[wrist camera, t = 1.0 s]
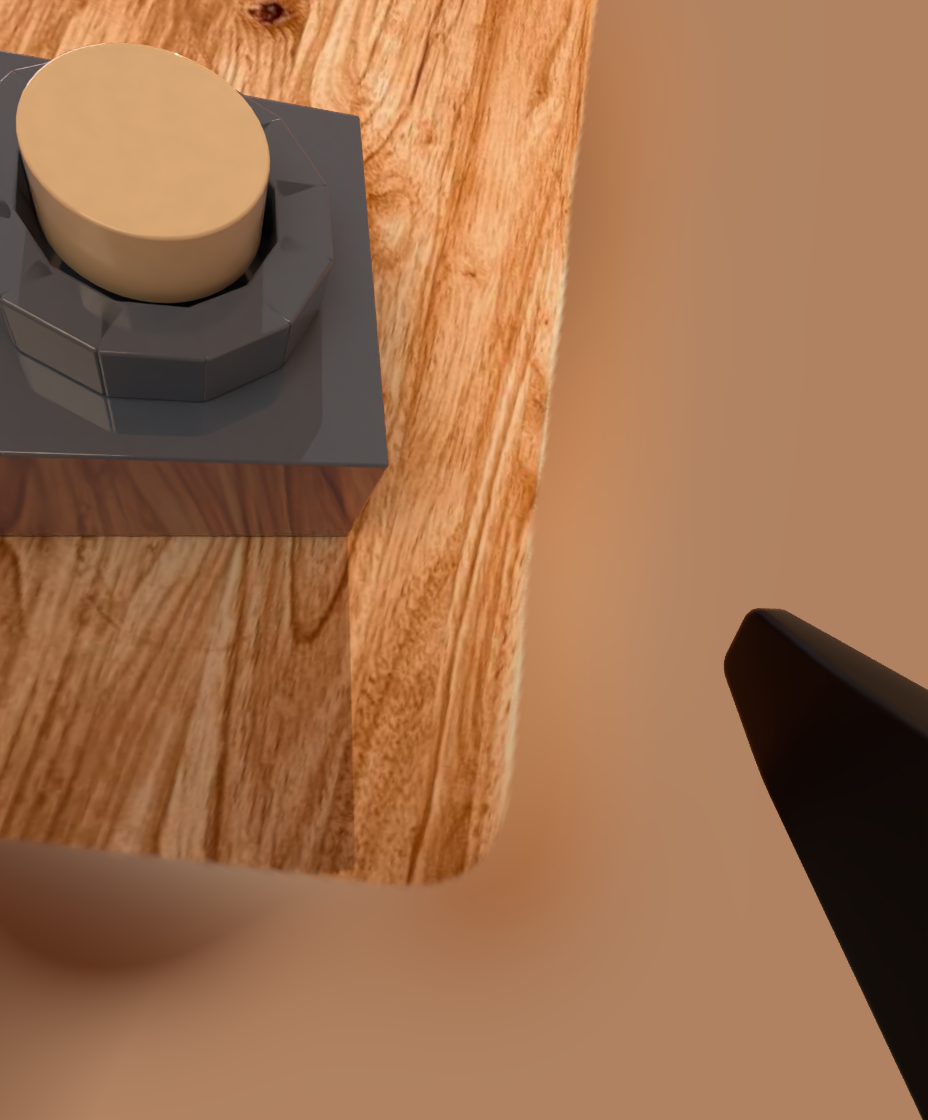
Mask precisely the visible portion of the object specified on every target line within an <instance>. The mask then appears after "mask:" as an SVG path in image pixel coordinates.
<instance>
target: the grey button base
mask: <svg viewBox="0 0 928 1120" xmlns="http://www.w3.org/2000/svg"><path fill="white" fill-rule="evenodd" d="M49 61H51V60H50V59H44V58H39V57H33V56H28V55H22V54H17V53H12V52H6V51H1V50H0V536H347V535H348V534H349V532H350V531H351V529H352V527H353V526H354V524H355V522H356V520H357V519H358V517H359V515H360V514H361V512H362V510H363V509H364V507H365V505H366V503H367V502H368V500H369V498H370V497H371V495H372V493H373V492H374V490H375V488H376V486H377V485H378V483H379V481H380V480H381V478H382V476H383V475H384V473H385V471H386V470H387V468H388V465H389V463H388V451H387V439H386V427H385V415H384V403H383V391H382V379H381V367H380V355H379V343H378V331H377V319H376V307H375V295H374V283H373V271H372V259H371V247H370V235H369V223H368V211H367V199H366V187H365V175H364V163H363V151H362V139H361V128H360V119H359V117H358V116H356V115H350V114H345V113H339V112H334V111H328V110H323V109H318V108H312V107H307V106H301V105H296V104H290V103H285V102H279V101H274V100H268V99H263V98H257V97H252V96H247V95H244V94H242V93H240V92H239V91H237V90H236V91H237V92H238V93H239V94H240V95H241V96H242V97H243V98H244V99H245V101H246V102H247V103H248V104H249V106H250V107H251V108H252V110H253V111H254V113H255V115H256V116H257V118H258V120H259V121H260V124H261V126H262V128H263V131H264V133H265V135H266V139H267V142H268V146H269V153H270V174H269V182H268V190H267V198H266V206H265V214H264V222H263V229H262V237H261V241H260V246H259V249H258V251H257V254H256V257H255V258H254V260H253V262H252V263H251V265H250V267H249V268H248V269H247V270H246V271H245V272H244V274H243V275H242V276H241V277H240V278H238V279H237V280H236V281H235V282H234V283H233V284H231V285H230V286H228V287H226V288H225V289H223V290H222V291H220V292H217V293H215V294H213V295H211V296H208V297H205V298H202V299H198V300H194V301H189V302H183V303H151V302H144V301H138V300H134V299H130V298H126V297H122V296H120V295H117V294H114V293H111V292H109V291H107V290H105V289H103V288H101V287H99V286H96V285H94V284H93V283H91V282H90V281H88V280H87V279H85V278H83V277H82V276H80V275H79V274H78V273H77V272H75V271H74V270H73V269H72V268H70V267H69V266H68V265H67V264H66V263H65V262H64V261H63V260H62V259H61V258H60V257H59V256H58V255H57V253H56V252H55V251H54V249H53V248H52V247H51V245H50V244H49V242H48V241H47V239H46V237H45V235H44V233H43V232H42V229H41V226H40V224H39V221H38V218H37V214H36V210H35V207H34V203H33V199H32V195H31V191H30V187H29V183H28V180H27V176H26V172H25V168H24V164H23V160H22V156H21V153H20V149H19V145H18V140H17V135H16V112H17V106H18V103H19V100H20V98H21V95H22V92H23V90H24V89H25V87H26V85H27V83H28V82H29V80H30V79H31V78H32V77H33V76H34V74H35V73H36V72H37V71H38V70H39V69H41V68H42V67H43V66H44V65H45V64H47V63H48V62H49Z"/></svg>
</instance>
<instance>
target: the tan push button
mask: <svg viewBox="0 0 928 1120" xmlns="http://www.w3.org/2000/svg"><path fill="white" fill-rule="evenodd" d="M16 135H17V140H18V145H19V149H20V153H21V156H22V160H23V164H24V168H25V172H26V176H27V180H28V183H29V187H30V191H31V195H32V199H33V203H34V207H35V210H36V214H37V218H38V221H39V224H40V226H41V229H42V232H43V233H44V235H45V237H46V239H47V241H48V242H49V244H50V245H51V247H52V248H53V249H54V251H55V252H56V253H57V255H58V256H59V257H60V258H61V259H62V260H63V261H64V262H65V263H66V264H67V265H68V266H69V267H70V268H72V269H73V270H74V271H75V272H77V273H78V274H79V275H80V276H82V277H83V278H85V279H87V280H88V281H90V282H91V283H93V284H94V285H96V286H99V287H101V288H103V289H105V290H107V291H109V292H111V293H114V294H117V295H120V296H122V297H126V298H130V299H134V300H138V301H144V302H151V303H183V302H189V301H194V300H198V299H202V298H205V297H208V296H211V295H213V294H215V293H217V292H220V291H222V290H223V289H225V288H226V287H228V286H230V285H231V284H233V283H234V282H235V281H236V280H237V279H238V278H240V277H241V276H242V275H243V274H244V272H245V271H246V270H247V269H248V268H249V267H250V265H251V263H252V262H253V260H254V258H255V257H256V254H257V251H258V249H259V246H260V241H261V237H262V229H263V222H264V214H265V206H266V198H267V190H268V182H269V174H270V153H269V146H268V142H267V139H266V135H265V133H264V131H263V128H262V126H261V124H260V121H259V120H258V118H257V116H256V115H255V113H254V111H253V110H252V108H251V107H250V106H249V104H248V103H247V102H246V101H245V99H244V98H243V97H242V96H241V95H240V94H239V93H238V92H237V91H236V90H235V89H234V88H233V87H232V86H231V85H230V84H229V83H227V82H226V81H225V80H224V79H223V78H221V77H220V76H218V75H217V74H215V73H214V72H213V71H211V70H210V69H208V68H206V67H204V66H203V65H201V64H199V63H197V62H195V61H193V60H191V59H189V58H187V57H184V56H182V55H180V54H177V53H174V52H171V51H168V50H165V49H161V48H156V47H152V46H147V45H141V44H134V43H102V44H95V45H89V46H85V47H81V48H77V49H74V50H71V51H69V52H66V53H64V54H62V55H59V56H58V57H56V58H54V59H53V60H51V61H49V62H48V63H47V64H45V65H44V66H43V67H42V68H41V69H39V70H38V71H37V72H36V73H35V74H34V76H33V77H32V78H31V79H30V80H29V82H28V83H27V85H26V87H25V89H24V90H23V92H22V95H21V98H20V100H19V103H18V106H17V112H16Z"/></svg>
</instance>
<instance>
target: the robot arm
mask: <svg viewBox="0 0 928 1120" xmlns="http://www.w3.org/2000/svg"><path fill="white" fill-rule="evenodd" d="M724 673H725V677H726V679H727V683H728V685H729V688H730V691H731V694H732V696H733V699H734V702H735V705H736V708H737V711H738V713H739V716H740V719H741V722H742V724H743V727H744V730H745V733H746V736H747V739H748V741H749V744H750V747H751V750H752V753H753V755H754V758H755V761H756V764H757V766H758V769H759V771H760V774H761V776H762V779H763V781H764V783H765V786H766V788H767V790H768V793H769V795H770V797H771V799H772V801H773V803H774V806H775V808H776V810H777V812H778V814H779V816H780V818H781V820H782V822H783V825H784V827H785V829H786V831H787V833H788V835H789V837H790V839H791V842H792V844H793V846H794V848H795V850H796V852H797V854H798V856H799V859H800V860H801V863H802V865H803V867H804V869H805V871H806V873H807V875H808V878H809V880H810V882H811V884H812V886H813V888H814V890H815V892H816V895H817V897H818V899H819V901H820V903H821V905H822V907H823V909H824V911H825V914H826V916H827V918H828V920H829V922H830V924H831V926H832V929H833V930H834V932H835V935H836V937H837V939H838V941H839V943H840V945H841V948H842V950H843V952H844V954H845V956H846V958H847V960H848V962H849V965H850V967H851V969H852V971H853V973H854V975H855V977H856V979H857V982H858V983H859V986H860V987H861V990H862V992H863V994H864V996H865V998H866V1001H867V1003H868V1005H869V1007H870V1009H871V1011H872V1013H873V1016H874V1018H875V1019H876V1022H877V1024H878V1026H879V1028H880V1030H881V1032H882V1035H883V1037H884V1039H885V1041H886V1043H887V1045H888V1047H889V1049H890V1052H891V1053H892V1056H893V1058H894V1060H895V1062H896V1064H897V1066H898V1068H899V1071H900V1073H901V1075H902V1077H903V1079H904V1081H905V1083H906V1086H907V1088H908V1090H909V1092H910V1094H911V1096H912V1098H913V1100H914V1102H915V1105H916V1107H917V1109H918V1111H919V1113H920V1115H921V1117H922V1119H923V1120H928V690H927V689H925V688H923V687H922V686H920V685H918V684H916V683H914V682H912V681H911V680H909V679H907V678H906V677H904V676H902V675H900V674H898V673H896V672H895V671H893V670H891V669H889V668H888V667H886V666H884V665H882V664H880V663H879V662H877V661H875V660H873V659H871V658H870V657H868V656H866V655H864V654H863V653H861V652H859V651H857V650H855V649H854V648H852V647H850V646H848V645H846V644H845V643H842V642H841V641H839V640H838V639H836V638H834V637H832V636H830V635H829V634H827V633H825V632H823V631H821V630H820V629H818V628H816V627H814V626H812V625H811V624H809V623H807V622H805V621H803V620H802V619H800V618H798V617H796V616H794V615H793V614H791V613H789V612H787V611H785V610H781V609H766V608H763V609H762V608H757V609H753V610H751V611H750V612H749V613H748V614H747V615H746V616H745V618H744V620H743V622H742V624H741V626H740V628H739V630H738V632H737V633H736V636H735V637H734V639H733V641H732V644H731V646H730V648H729V650H728V651H727V653H726V656H725V660H724Z"/></svg>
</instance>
